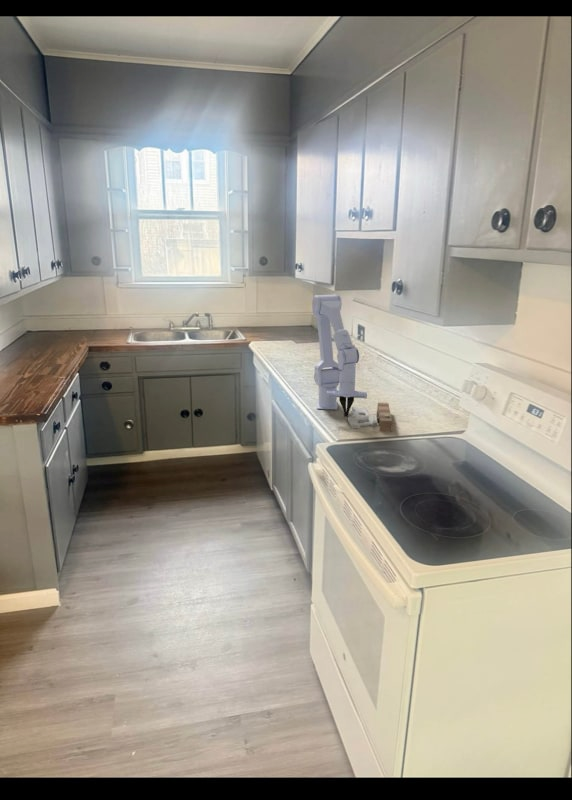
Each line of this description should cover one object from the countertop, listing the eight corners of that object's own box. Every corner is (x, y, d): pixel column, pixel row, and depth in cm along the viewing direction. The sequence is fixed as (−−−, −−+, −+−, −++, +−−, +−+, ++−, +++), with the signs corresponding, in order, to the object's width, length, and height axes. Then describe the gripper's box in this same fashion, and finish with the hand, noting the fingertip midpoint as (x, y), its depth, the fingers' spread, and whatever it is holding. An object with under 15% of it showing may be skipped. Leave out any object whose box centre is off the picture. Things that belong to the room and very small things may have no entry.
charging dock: (375, 412, 203) (376, 401, 201) (387, 412, 202) (388, 401, 201) (378, 431, 184) (378, 419, 182) (391, 431, 183) (392, 419, 182)
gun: (342, 404, 202) (367, 403, 203) (342, 412, 203) (367, 412, 204) (353, 423, 185) (380, 422, 186) (352, 432, 186) (379, 431, 187)
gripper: (326, 383, 187) (326, 419, 191) (367, 384, 185) (366, 420, 189) (327, 377, 194) (326, 412, 198) (367, 379, 192) (365, 413, 196)
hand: (346, 416), depth 194 cm, fingers closed
